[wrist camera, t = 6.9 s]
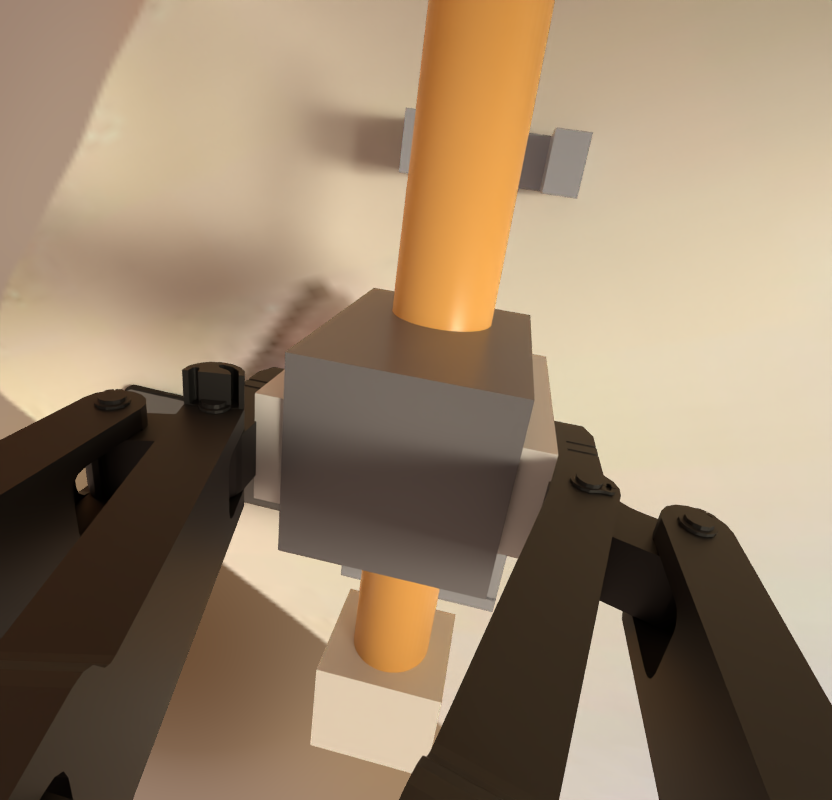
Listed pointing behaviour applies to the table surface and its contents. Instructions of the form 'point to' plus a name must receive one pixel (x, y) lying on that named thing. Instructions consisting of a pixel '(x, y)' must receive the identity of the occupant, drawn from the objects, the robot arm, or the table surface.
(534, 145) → the clip
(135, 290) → the table surface
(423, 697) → the orange rod with blocks
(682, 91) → the table surface
